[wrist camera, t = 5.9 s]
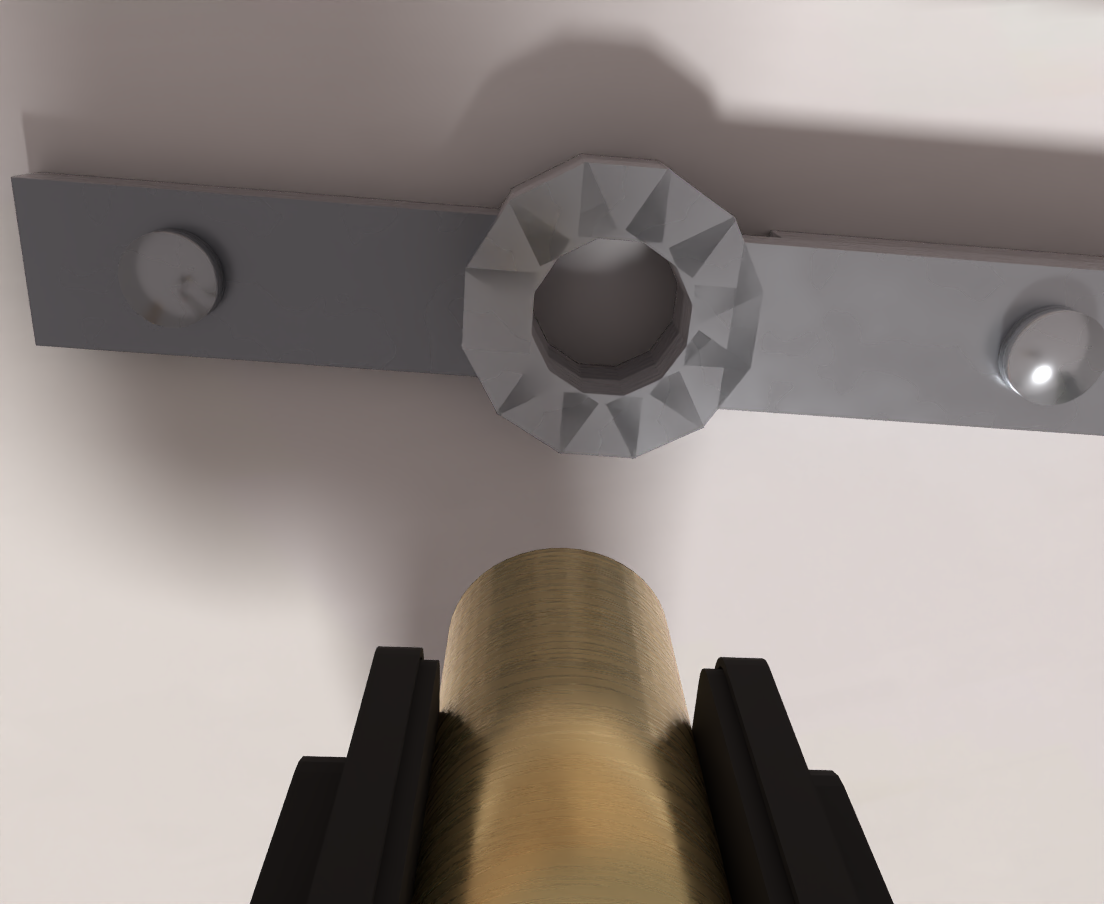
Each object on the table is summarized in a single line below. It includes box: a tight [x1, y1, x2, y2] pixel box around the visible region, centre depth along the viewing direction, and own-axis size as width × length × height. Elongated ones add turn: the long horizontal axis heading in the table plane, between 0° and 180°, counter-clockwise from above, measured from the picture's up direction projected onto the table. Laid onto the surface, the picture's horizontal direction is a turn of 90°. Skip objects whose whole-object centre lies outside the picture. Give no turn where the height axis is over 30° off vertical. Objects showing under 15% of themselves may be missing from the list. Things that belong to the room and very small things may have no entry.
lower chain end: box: [11, 154, 685, 381], centre depth 27 cm, size 22×9×2 cm, turn 85°
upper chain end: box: [461, 157, 1104, 459], centre depth 27 cm, size 22×9×4 cm, turn 85°
